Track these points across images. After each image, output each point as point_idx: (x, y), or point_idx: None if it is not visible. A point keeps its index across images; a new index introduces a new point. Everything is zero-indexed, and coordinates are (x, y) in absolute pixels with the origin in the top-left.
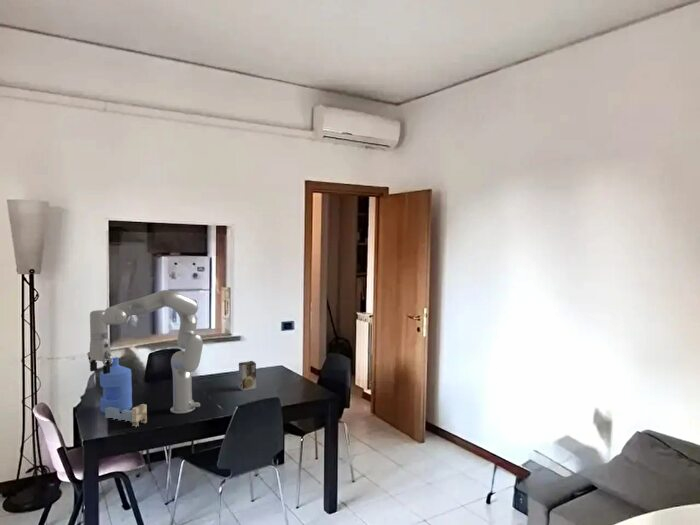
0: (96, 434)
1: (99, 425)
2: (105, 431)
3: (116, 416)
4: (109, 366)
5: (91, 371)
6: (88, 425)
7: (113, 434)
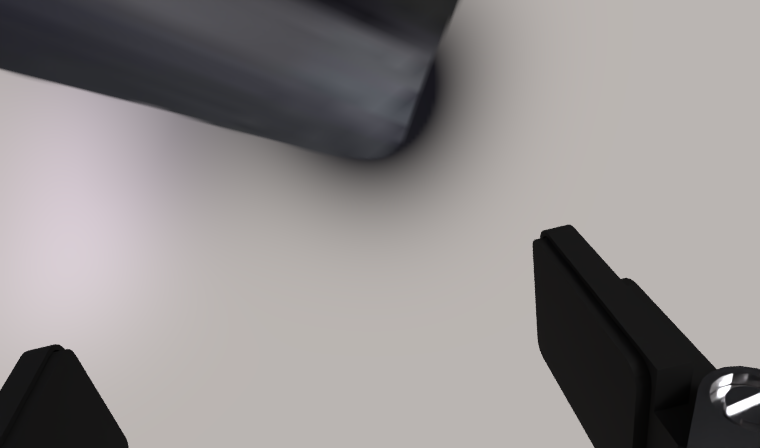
0: (340, 99)
1: (157, 4)
2: (330, 31)
3: None
4: (652, 327)
5: (117, 438)
6: (96, 65)
7: (434, 18)
